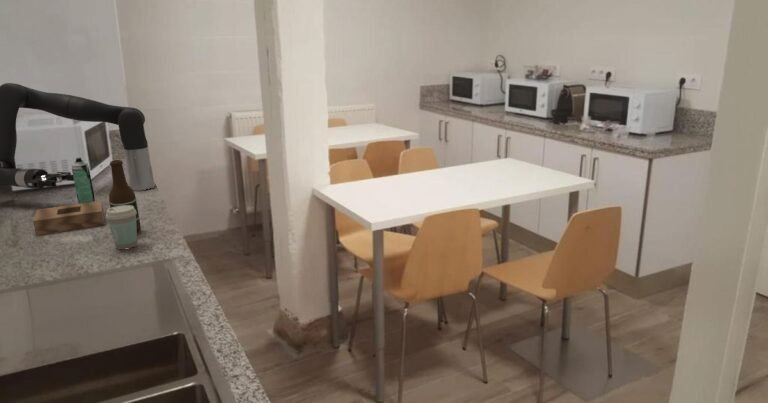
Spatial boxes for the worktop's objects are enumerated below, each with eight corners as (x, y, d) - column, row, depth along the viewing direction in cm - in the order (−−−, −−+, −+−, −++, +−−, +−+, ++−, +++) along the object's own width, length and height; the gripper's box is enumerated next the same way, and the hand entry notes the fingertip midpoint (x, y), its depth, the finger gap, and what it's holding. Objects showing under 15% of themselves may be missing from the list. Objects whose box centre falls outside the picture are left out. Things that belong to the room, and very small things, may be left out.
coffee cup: (117, 242, 175) (111, 205, 171) (145, 240, 175) (139, 203, 172) (107, 252, 167) (99, 214, 163) (136, 250, 167) (130, 212, 164)
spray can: (100, 208, 209) (90, 156, 203) (91, 213, 204) (80, 159, 198) (86, 208, 210) (75, 156, 204) (77, 213, 205) (66, 159, 199)
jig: (103, 213, 203) (101, 200, 201) (104, 225, 191) (101, 211, 189) (40, 223, 195) (37, 209, 193) (36, 235, 183) (33, 221, 181)
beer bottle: (146, 229, 185) (134, 158, 178) (129, 238, 178) (116, 164, 171) (127, 228, 187) (115, 157, 180) (109, 236, 180) (96, 162, 173)
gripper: (12, 173, 204) (46, 175, 199) (46, 164, 217) (79, 166, 212) (17, 193, 206) (50, 196, 201) (50, 183, 219) (82, 185, 214)
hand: (65, 180), depth 206 cm, fingers open, 8 cm apart
